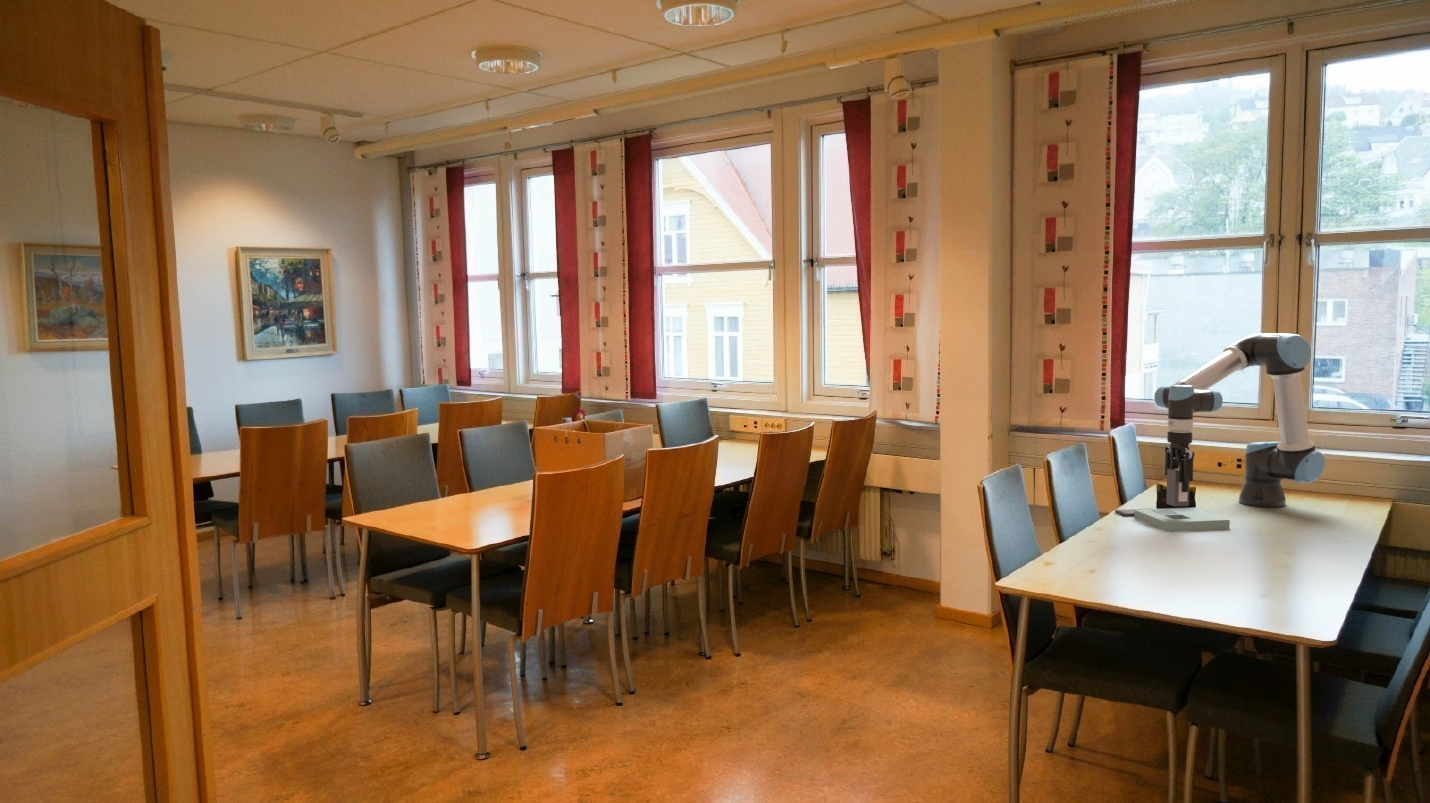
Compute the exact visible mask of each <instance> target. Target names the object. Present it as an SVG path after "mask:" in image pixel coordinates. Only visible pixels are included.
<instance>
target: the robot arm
mask: <svg viewBox="0 0 1430 803" xmlns="http://www.w3.org/2000/svg"><path fill="white" fill-rule="evenodd" d="M1311 349H1312V348H1311V345H1310V344H1309V342H1308V341H1307V339H1306V338H1305V337H1303V336H1302V335H1299V334H1294V333H1289V332H1288V333H1287V332H1285V333H1265V332H1259V333H1254V334H1251V335H1247V336H1246V337H1245V336H1244V338H1241V339H1239V340H1237V341H1236V342H1234V343H1232V344H1229V345H1228V346H1227V347H1226V348H1223V351H1222V354H1219V355H1218V356H1216V357H1215V358H1214V359H1211V360H1210V361H1208V362H1207V363H1206V364H1204V365H1202V366H1200V367H1199V368H1198V369H1196V370H1195V371H1193V372H1191V373H1190V374H1188V375H1187V376H1185V377H1183V378H1182V379H1180V380H1178V381H1177V382H1175V383H1174V384H1171V385H1170V386H1167V385H1165V386H1160V387H1158V388H1157V389H1156V391H1155V392H1154V401H1155V404H1156V405H1157V406H1158V407H1160V408H1164V409H1168V413H1167V415H1168V416H1167V417H1168V419H1167V430H1168V431H1167V440H1166V441H1167V442H1168V443H1170V445H1169V446H1165V447H1164V453H1165V461H1164V476H1165V477H1167V468H1179V471H1180V481H1179V492H1178V501H1179V502H1183V501H1187V492H1188V482H1190V483H1191V482H1193V481H1194V458H1195V451H1191V450H1190V447H1189V444H1192V443H1193V432H1192V431H1193V430H1194V426H1193V425H1194V413H1212V412H1217V411H1218V410H1219V409H1221V407H1222V405H1223V395H1222V393H1221V392H1220V391H1219V390H1217V389H1210V388H1211V387H1213V386H1214V385H1216V384H1218V383H1219V382H1221V381H1223V380H1224V379H1226V378H1227V377H1229V376H1231V374H1233V373H1235V372H1236V371H1244V369H1246V368H1249V367H1256V366H1259V367H1265V371H1266V372H1265V373H1266V375H1267V376H1268V377H1270V378H1271V380H1272V385H1273V386H1272V387H1273V394H1274V401H1275V408H1276V416H1277V421H1278V431H1279V437H1280V441H1256V442H1249V443H1248V444H1246V448H1245V454H1244V455H1245V460H1244V462H1245V464H1244V465H1245V470H1244V471H1245V472H1244V476H1245V477H1244V484H1243V486H1242V488H1241V490H1240V493H1239V496H1238V502H1239V503H1240V504H1242V505H1247V506H1251V507H1262V508H1279V507H1280V508H1281V507H1285V506H1286V505H1287V499H1286V495H1285V492H1284V489H1283V486H1282V480H1286V481H1290V482H1291V481H1292V482H1297V483H1304V484H1306V483H1307V484H1309V483H1310V484H1311V483H1313V482H1315V481H1317V480H1319V478H1320V477H1322V476H1321V475H1322V474H1323V472H1324V470H1325V468H1326V458H1325V455H1324V454H1323V453H1322V452H1320V451H1319V450H1316V446H1315V445H1316V443H1315V442H1314V441H1313V440H1311V439H1310V438H1309V437H1310V436H1309V430H1308V429H1309V428H1308V422H1307V421H1308V420H1307V415H1306V414H1307V413H1306V406H1305V401H1304V399H1305V398H1304V393H1303V392H1304V391H1303V390H1304V389H1303V385H1302V384H1303V383H1302V378H1301V375H1302V373H1304V371H1305V370H1306V368H1305V367H1306V366H1308V364H1309V363H1310V360H1311V358H1312V350H1311Z"/></svg>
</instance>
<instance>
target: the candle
mask: <svg viewBox="0 0 1430 803" xmlns="http://www.w3.org/2000/svg"><path fill="white" fill-rule="evenodd" d="M1155 490H1156V503H1155V505H1156V506H1155V507H1156V508H1155V509H1168V508H1193V507H1194V508H1197V502H1196V493H1197V492H1196V491H1197V486H1195V485H1193V484H1190V485H1189V506H1172V505H1169V504H1167V503H1166V495H1167V481H1165V482H1163V481H1162V482H1156V488H1155Z"/></svg>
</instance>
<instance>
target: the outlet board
mask: <svg viewBox="0 0 1430 803" xmlns="http://www.w3.org/2000/svg"><path fill="white" fill-rule="evenodd" d="M1143 509H1144V510H1135V516H1134V519H1136V520H1137V521H1139V522H1142V523H1144V524H1145V523H1146V524H1147V525H1150V526H1153V527H1154V528H1157V529H1159V530H1162V531H1164V532H1186V531H1206V530H1209V531H1210V530H1227V529H1228V530H1230V528H1231V526H1230V525H1231V519H1229V518H1225V517H1224V516H1220V515H1217V514H1215V513H1211V512H1208V511H1206V510H1202V509H1200V508H1198V507H1196V508H1194V507H1193V508H1168V509H1157V508H1143Z"/></svg>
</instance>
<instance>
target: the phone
mask: <svg viewBox="0 0 1430 803" xmlns="http://www.w3.org/2000/svg"><path fill="white" fill-rule="evenodd" d="M1144 509H1145V508H1133V509H1130V508H1129V509H1115V511H1114V513H1115V512H1116V513H1115V514H1117V515H1120V516H1122V517H1124V518H1129V517H1130V518H1133V517H1134V516H1135V510H1144Z"/></svg>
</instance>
